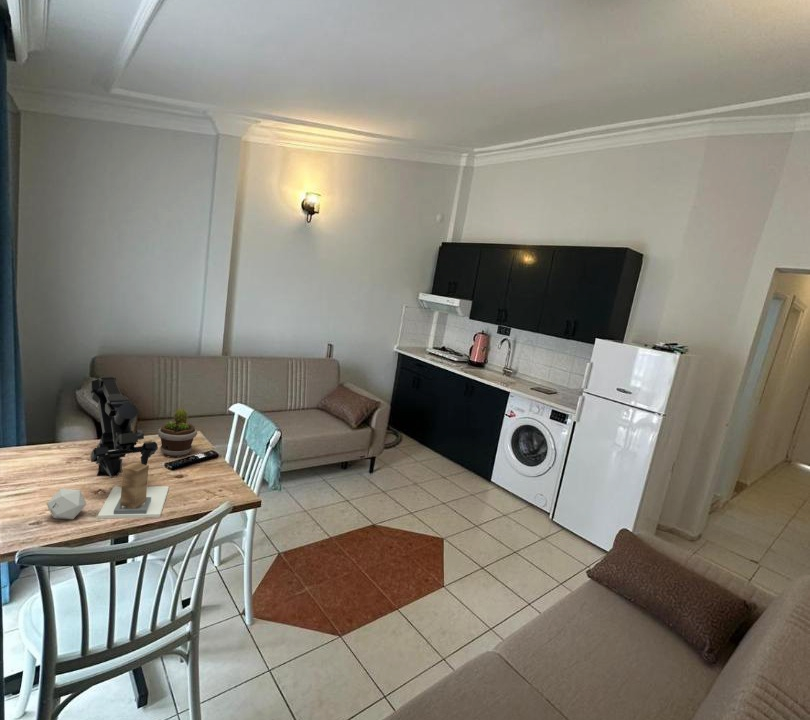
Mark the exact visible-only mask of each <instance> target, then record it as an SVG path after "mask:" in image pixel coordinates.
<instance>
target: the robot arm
mask: <svg viewBox="0 0 810 720" xmlns="http://www.w3.org/2000/svg"><path fill="white" fill-rule="evenodd" d="M88 393H89V394H90V396H91V400H93V401H94V402H95V403H96V404H97V407H98V413H99V419H100V425H101V432H102V435H101V437H100V439H99V442H98V444H97V446H96V447H94V448H93V449H92V451H91V454H90V462H91V463H95V464H96V465H98V471H97V473H96V476H98V477H99V476H102V477H103V476H109V478H111V479H113V478H114V476H116V477H117V476H118V475H119V474H120V472H121V471H122V470H123V459H122V458H125V457H126V454H128V455H129V454H138V453H140V455H141V456H140V464H144V465H148V461H149V459H150V458H151V457H152V456H153V455H155V454H156V452H157V450H158V449H159V447H158V446H159V445H158V443H157V442H156V441H148V442H147V441H146V442H144V443H143V444H142V445H141V446H137V443H139V440H145V439H144V438H145V435H144V429H137V430H135V432H134V431H133V429H132V424H133V423H134V421H135V419H136V417H137V416H138V414H139V410H138V408H137V407H136V406H135V405H134V403H132V401H131V400H130V399H129V397H128V396H126V395H123V394H122V392H121V390H120V388H119V386H118V383H117V379H116V377H114V376H101V377H99V378H98V379H95V380H92V381H90V383H89V384H88Z"/></svg>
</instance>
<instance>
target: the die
mask: <svg viewBox="0 0 810 720" xmlns="http://www.w3.org/2000/svg"><path fill="white" fill-rule="evenodd" d="M86 505H87V502H86V499H85V497H84V496H83V493H82V491H81V489H74V488H73V489H70V488H69V489H68V488H60V489H59V490H58V491H57V492H56V493H55V494H54V495H53V496H52V497H51V498H50V499H49V501H47V503H46V506H47V508H48V510H49V512H50V514H51V515H52V517H53V519H61V520H74V519H75V518H76V517H77V516H78V515H79V513H80V512H81V511H82V510H83V509H84V508H85V507H86Z"/></svg>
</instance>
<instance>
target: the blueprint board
mask: <svg viewBox="0 0 810 720" xmlns="http://www.w3.org/2000/svg"><path fill="white" fill-rule="evenodd" d="M121 489H122V486H113V488H112V490H111V491H110V492H109V495H108V496H107V498H106V500H105V502H104V503H103V506H102V507H101V509H100V510H99V512H98V514H97V517H96V518H97V520H99V519H102V520H103V519H104V520H105V519H137V518H138V519H140V518H141V519H144V518H146V519H147V518H161V515H162V512H163V508H164V506H165V502H166V500H167V496H168V493H169V489H170V486H167V485H166V486H164V485H163V486H157V485H155V486H150V485H149V486H148V485H147V493H146V502H145V503H143V504H142V505H140V506H138V507H137V508H135V509H134V508H130V507H125V506H121V505H120V503H121Z"/></svg>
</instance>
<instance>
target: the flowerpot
mask: <svg viewBox="0 0 810 720" xmlns="http://www.w3.org/2000/svg"><path fill="white" fill-rule="evenodd" d="M188 414H189V413H188V412H187V410H186V409H185V408H183V407H182V406H180V407H177V410H176V411H175V412H174V411H173V418H172V420H173V421H167V422H166V423H165V424H163V425H162V426H161V427H160V428H159V429H158V430H157V436H158V437H159V439H160V442H161V444H160V447H159V448H160V452H161V453H162V454H163V456H165V457H167V456H169V457H168V458H179V457H182V456H183V457H185V456H188V455H189V453H190V452H191V451H193V446H192V444H193V442H194V439H195V438H196V437H197V435H198V430H197V428H195V426H194V425H193V424H191V423H188V419H189V417H188ZM187 454H188V455H187Z"/></svg>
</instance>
